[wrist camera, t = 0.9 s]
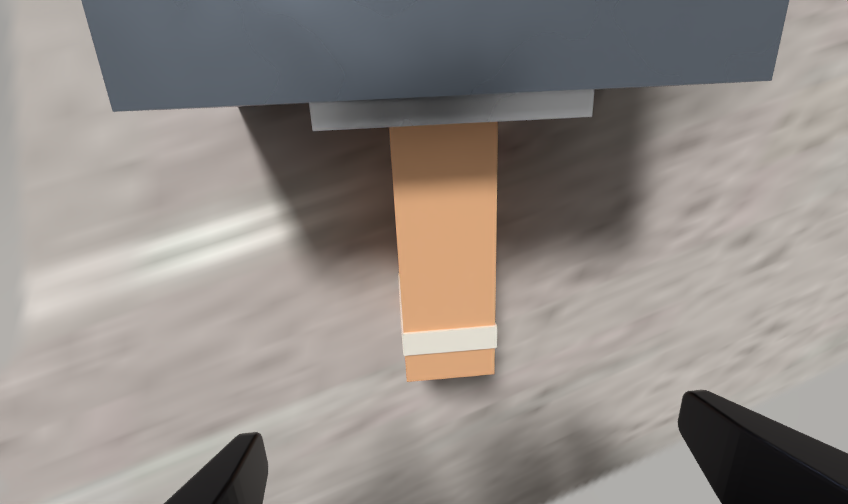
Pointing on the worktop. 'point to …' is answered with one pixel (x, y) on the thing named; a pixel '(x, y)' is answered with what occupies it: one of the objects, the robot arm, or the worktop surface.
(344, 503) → the worktop surface
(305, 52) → the gray block
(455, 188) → the tan banded carton
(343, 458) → the worktop surface
